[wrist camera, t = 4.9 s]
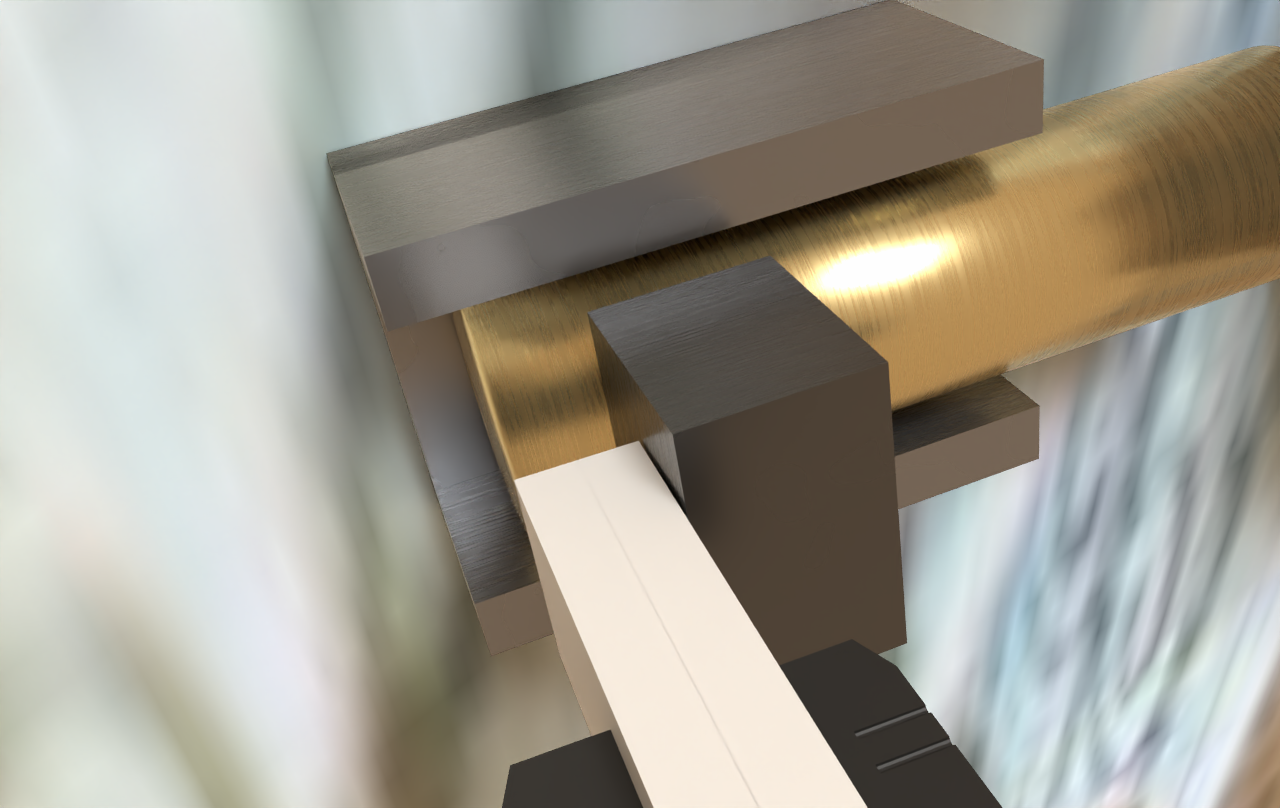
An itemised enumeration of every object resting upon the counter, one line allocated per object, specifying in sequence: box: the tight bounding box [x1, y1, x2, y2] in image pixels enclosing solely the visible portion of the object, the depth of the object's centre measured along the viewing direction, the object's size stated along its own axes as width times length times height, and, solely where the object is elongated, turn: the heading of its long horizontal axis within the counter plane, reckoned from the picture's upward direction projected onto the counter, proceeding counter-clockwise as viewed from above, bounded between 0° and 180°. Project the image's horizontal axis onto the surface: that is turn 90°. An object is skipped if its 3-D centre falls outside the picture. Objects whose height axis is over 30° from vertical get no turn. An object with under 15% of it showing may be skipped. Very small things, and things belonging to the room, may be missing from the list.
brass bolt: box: [452, 46, 1280, 665], centre depth 17 cm, size 13×4×7 cm, turn 100°
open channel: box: [326, 0, 1044, 656], centre depth 18 cm, size 9×6×4 cm
